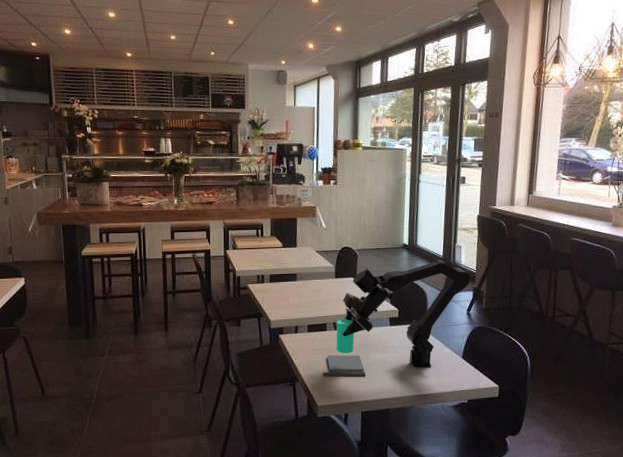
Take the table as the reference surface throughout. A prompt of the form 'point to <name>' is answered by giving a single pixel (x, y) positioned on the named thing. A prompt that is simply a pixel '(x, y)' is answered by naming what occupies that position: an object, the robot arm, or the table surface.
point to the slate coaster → (345, 363)
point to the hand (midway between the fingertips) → (341, 332)
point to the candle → (344, 337)
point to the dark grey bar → (344, 374)
